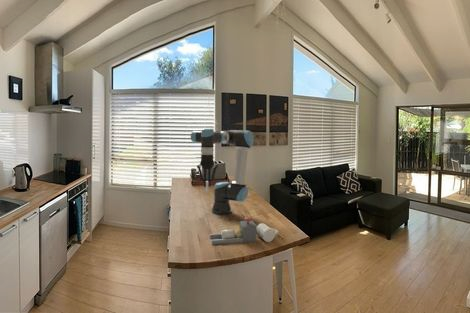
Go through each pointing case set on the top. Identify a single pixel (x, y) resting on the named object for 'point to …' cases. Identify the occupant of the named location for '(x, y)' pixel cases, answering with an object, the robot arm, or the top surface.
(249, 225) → the valve rig
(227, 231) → the fitting
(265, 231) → the mug
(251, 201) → the top surface
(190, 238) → the top surface
